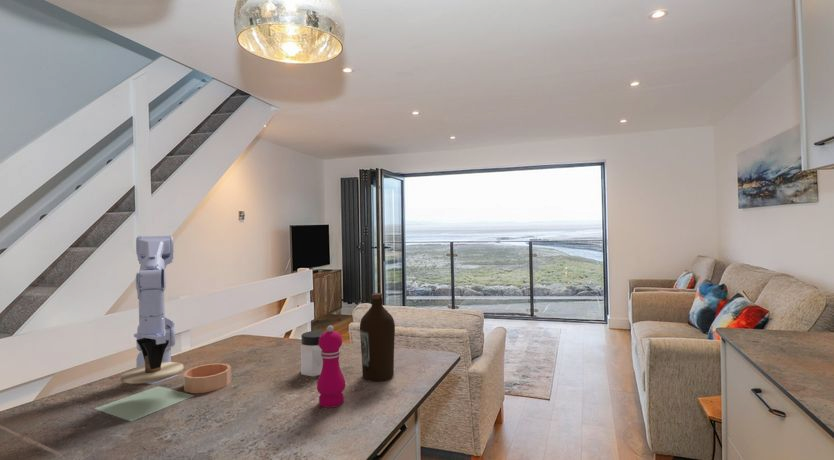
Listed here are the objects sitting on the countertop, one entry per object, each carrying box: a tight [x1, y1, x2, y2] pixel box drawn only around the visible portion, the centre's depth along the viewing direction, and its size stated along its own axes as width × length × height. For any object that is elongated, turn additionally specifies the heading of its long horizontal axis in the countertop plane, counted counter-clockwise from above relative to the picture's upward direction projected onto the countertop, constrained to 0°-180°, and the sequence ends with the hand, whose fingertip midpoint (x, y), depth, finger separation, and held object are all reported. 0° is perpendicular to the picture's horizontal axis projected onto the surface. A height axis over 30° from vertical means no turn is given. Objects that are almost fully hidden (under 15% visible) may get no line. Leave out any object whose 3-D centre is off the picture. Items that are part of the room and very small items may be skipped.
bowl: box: [183, 362, 232, 394], centre depth 119 cm, size 12×12×4 cm
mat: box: [94, 385, 195, 422], centre depth 108 cm, size 16×16×1 cm
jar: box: [300, 330, 326, 378], centre depth 129 cm, size 9×8×12 cm
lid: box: [120, 355, 184, 385], centre depth 109 cm, size 14×14×5 cm
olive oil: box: [359, 292, 396, 382], centre depth 125 cm, size 11×11×25 cm
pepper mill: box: [316, 324, 346, 408], centre depth 107 cm, size 7×7×20 cm
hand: (153, 366), depth 109 cm, fingers closed on lid, 3 cm apart
